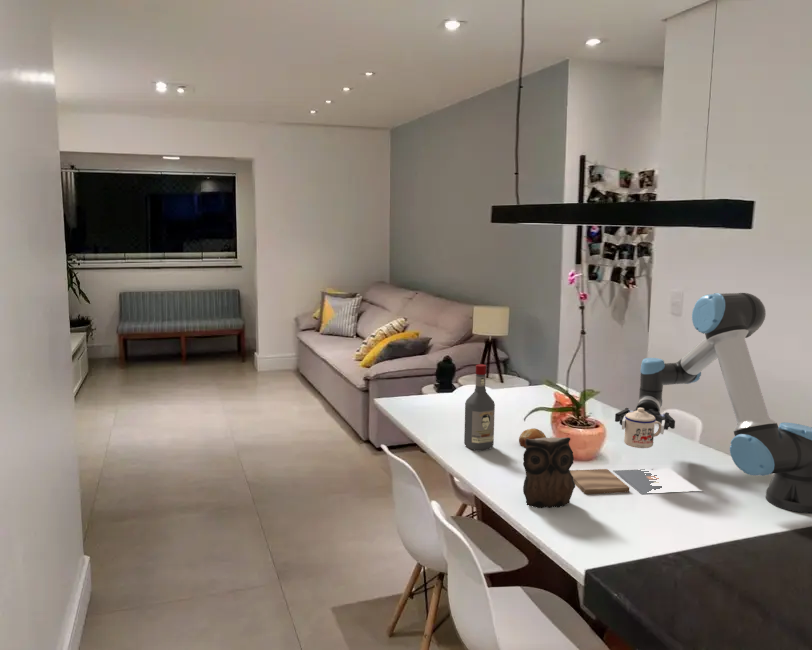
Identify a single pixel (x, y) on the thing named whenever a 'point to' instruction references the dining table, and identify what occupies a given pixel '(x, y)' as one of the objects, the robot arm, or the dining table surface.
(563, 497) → the owl
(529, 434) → the bread roll
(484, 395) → the liquor
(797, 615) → the dining table surface
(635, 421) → the teacup with lid
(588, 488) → the walnut board
